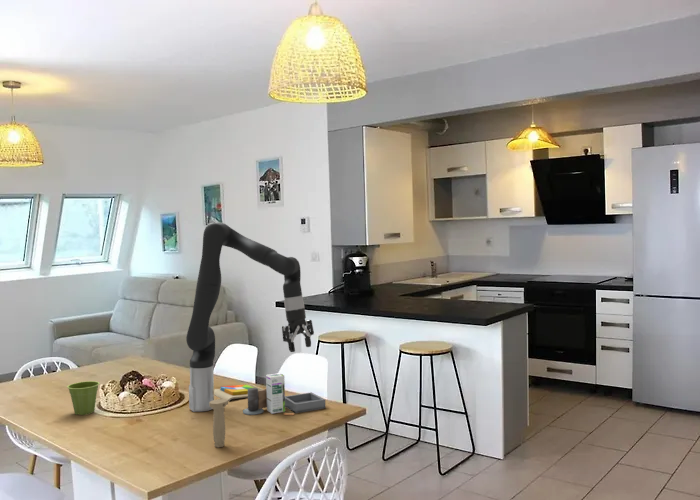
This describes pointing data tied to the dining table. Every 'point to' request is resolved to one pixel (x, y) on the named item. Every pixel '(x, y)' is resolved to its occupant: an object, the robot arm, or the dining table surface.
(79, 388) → the plant pot
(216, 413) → the handle
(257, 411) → the crank base
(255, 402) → the crank lever
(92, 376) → the dining table surface
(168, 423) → the dining table surface
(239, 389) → the wooden puzzle
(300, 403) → the grey tray
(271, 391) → the syrup box
